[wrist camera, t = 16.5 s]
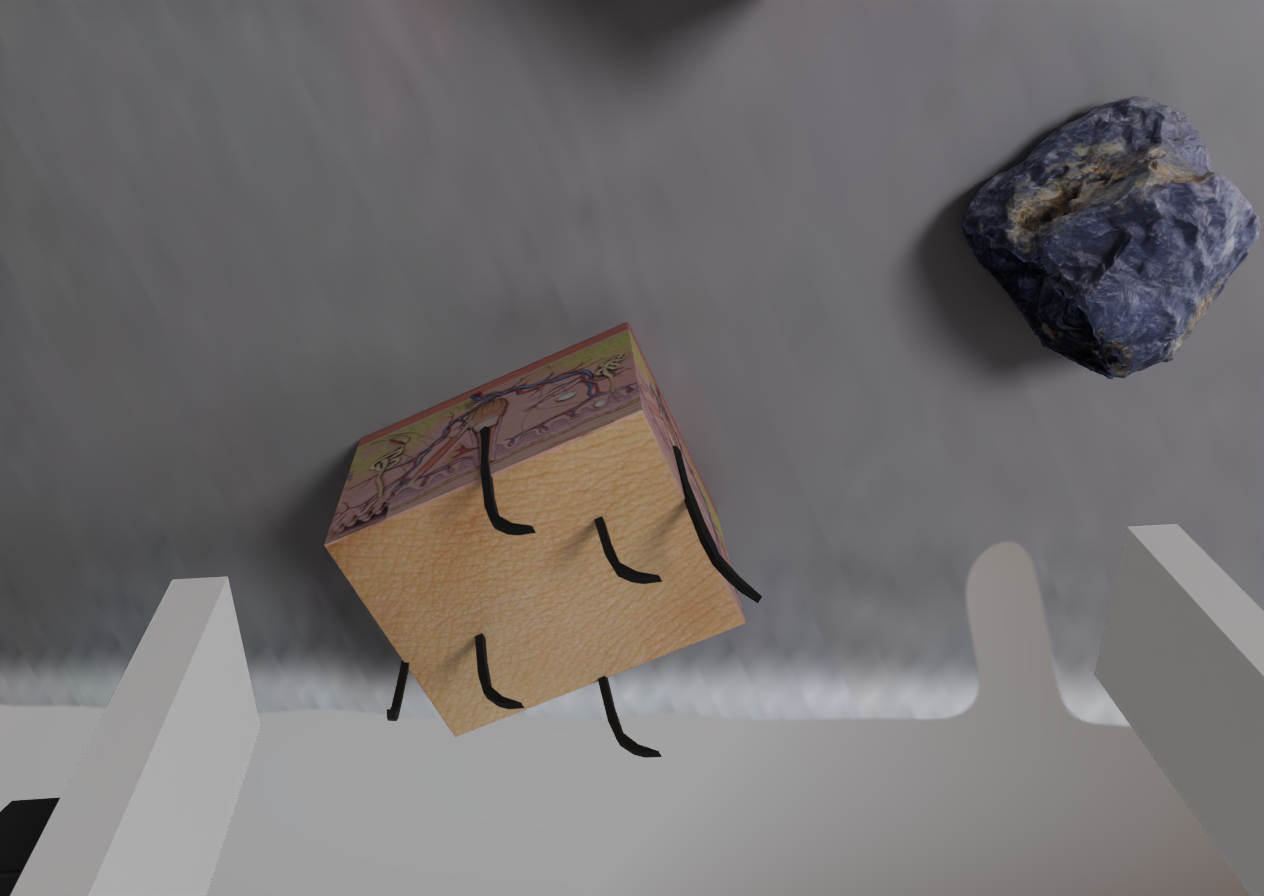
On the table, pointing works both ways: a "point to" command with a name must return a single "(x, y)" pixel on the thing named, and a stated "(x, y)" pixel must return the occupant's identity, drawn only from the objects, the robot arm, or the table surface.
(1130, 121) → the rock
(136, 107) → the table surface
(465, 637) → the anatomical model
